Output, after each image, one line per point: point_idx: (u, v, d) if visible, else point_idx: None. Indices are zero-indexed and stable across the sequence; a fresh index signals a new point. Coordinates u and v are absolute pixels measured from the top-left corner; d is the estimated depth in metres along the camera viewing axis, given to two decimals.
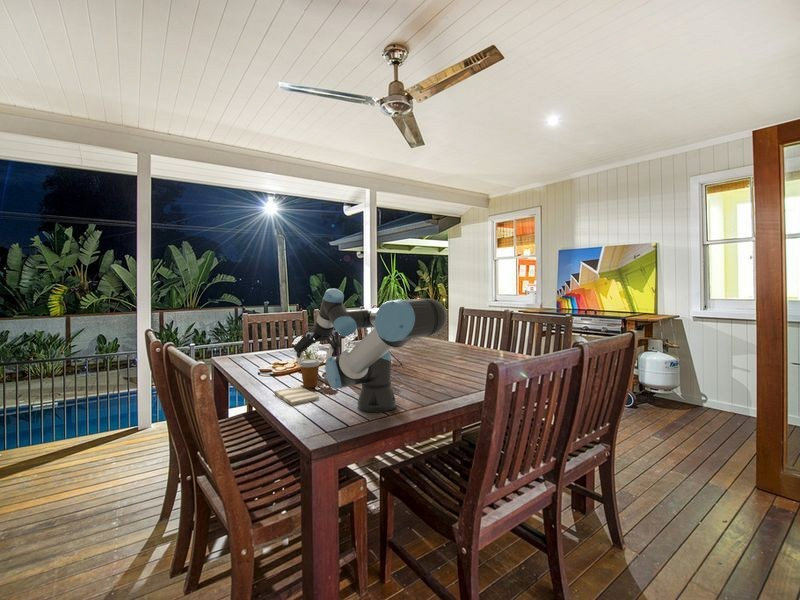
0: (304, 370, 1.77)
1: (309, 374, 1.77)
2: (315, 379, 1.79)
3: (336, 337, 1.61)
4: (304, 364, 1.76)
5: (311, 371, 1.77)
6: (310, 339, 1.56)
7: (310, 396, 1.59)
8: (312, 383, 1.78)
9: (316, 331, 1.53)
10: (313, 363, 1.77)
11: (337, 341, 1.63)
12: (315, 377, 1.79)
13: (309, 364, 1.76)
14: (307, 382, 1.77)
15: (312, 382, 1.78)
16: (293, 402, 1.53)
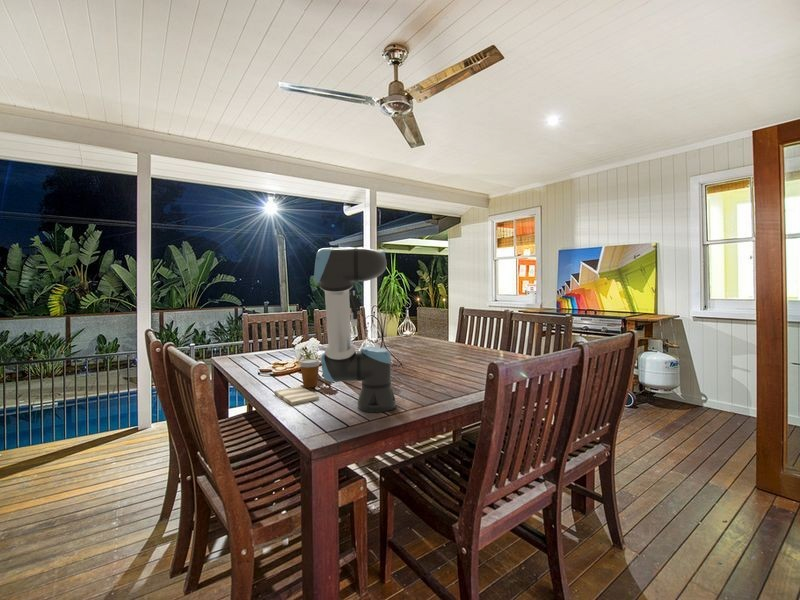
0: (304, 370, 1.77)
1: (309, 374, 1.77)
2: (315, 379, 1.79)
3: (351, 297, 1.74)
4: (304, 364, 1.76)
5: (311, 371, 1.77)
6: None
7: (310, 396, 1.59)
8: (312, 383, 1.78)
9: None
10: (313, 363, 1.77)
11: (353, 302, 1.74)
12: (315, 377, 1.79)
13: (309, 364, 1.76)
14: (307, 382, 1.77)
15: (312, 382, 1.78)
16: (293, 402, 1.53)
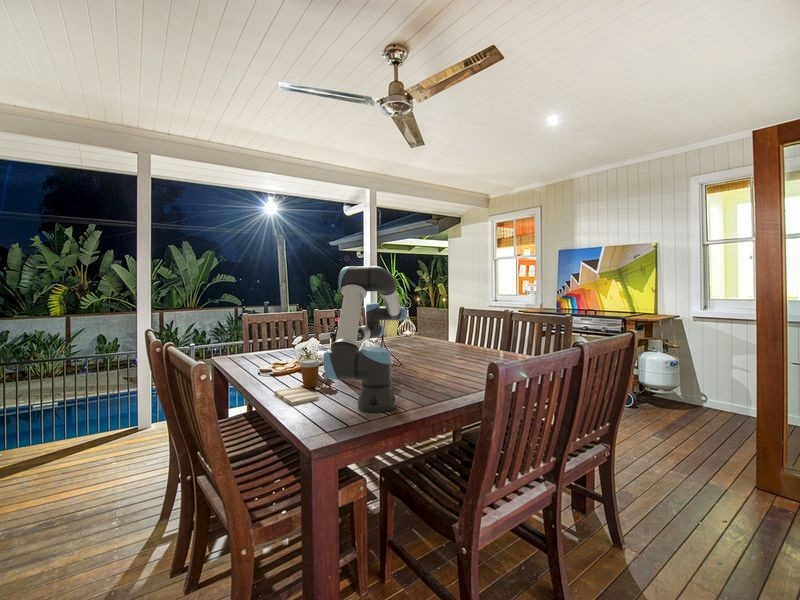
0: (304, 370, 1.77)
1: (309, 374, 1.77)
2: (315, 379, 1.79)
3: None
4: (304, 364, 1.76)
5: (311, 371, 1.77)
6: None
7: (310, 396, 1.59)
8: (312, 383, 1.78)
9: None
10: (313, 363, 1.77)
11: None
12: (315, 377, 1.79)
13: (309, 364, 1.76)
14: (307, 382, 1.77)
15: (312, 382, 1.78)
16: (293, 402, 1.53)
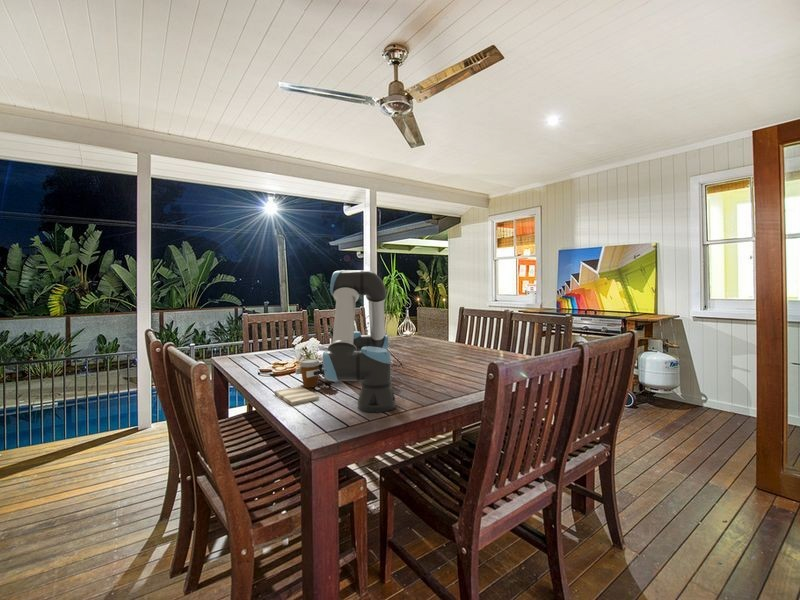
0: (304, 370, 1.77)
1: None
2: (315, 379, 1.79)
3: None
4: (304, 364, 1.76)
5: None
6: None
7: (310, 396, 1.59)
8: (312, 383, 1.78)
9: None
10: (313, 363, 1.77)
11: None
12: (315, 377, 1.79)
13: (309, 364, 1.76)
14: (307, 382, 1.77)
15: (312, 382, 1.78)
16: (293, 402, 1.53)
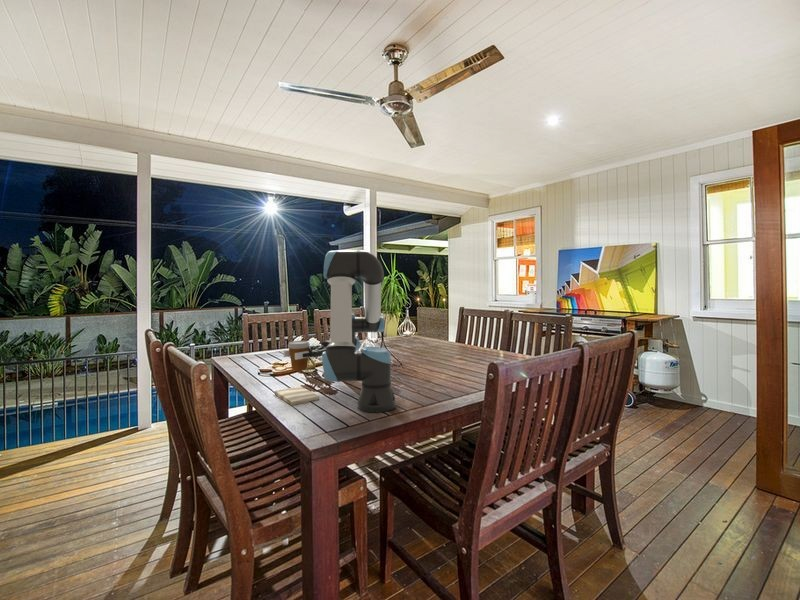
0: (292, 352, 1.64)
1: None
2: (304, 362, 1.66)
3: (324, 349, 1.71)
4: (292, 345, 1.64)
5: None
6: None
7: (310, 396, 1.59)
8: (301, 366, 1.65)
9: None
10: (302, 344, 1.64)
11: (320, 350, 1.68)
12: (304, 359, 1.66)
13: (298, 345, 1.63)
14: (296, 365, 1.65)
15: (302, 365, 1.65)
16: (293, 402, 1.53)
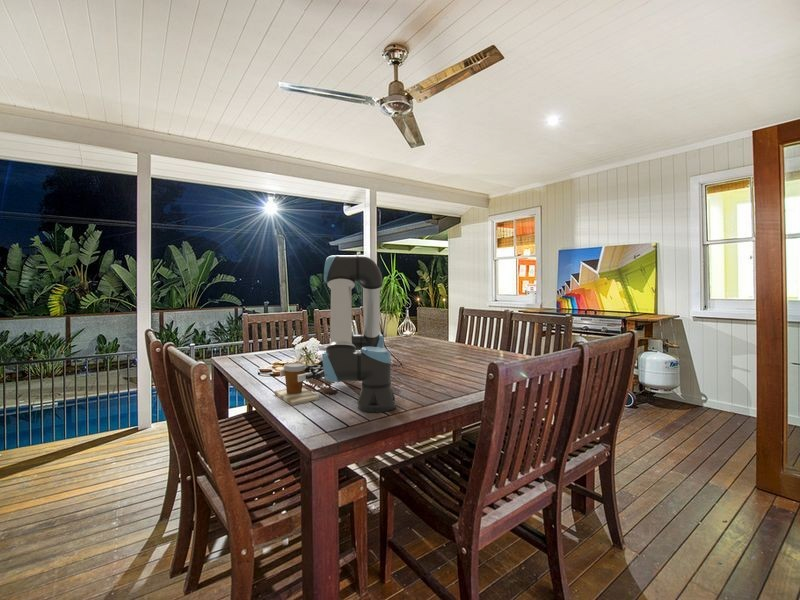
0: (287, 375, 1.62)
1: (293, 379, 1.62)
2: (299, 385, 1.64)
3: None
4: (288, 368, 1.61)
5: (295, 376, 1.62)
6: None
7: (310, 396, 1.59)
8: (295, 389, 1.63)
9: None
10: (298, 367, 1.62)
11: (321, 371, 1.64)
12: (299, 383, 1.64)
13: (293, 368, 1.61)
14: (290, 388, 1.62)
15: (296, 388, 1.63)
16: (293, 402, 1.53)
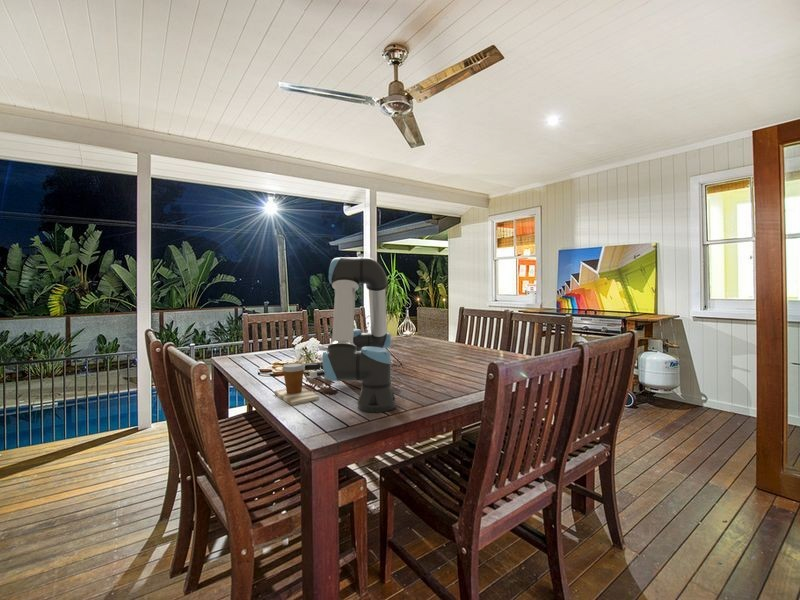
0: (286, 375, 1.63)
1: (291, 379, 1.62)
2: (298, 385, 1.64)
3: None
4: (285, 368, 1.62)
5: (293, 376, 1.62)
6: None
7: (310, 396, 1.59)
8: (294, 389, 1.63)
9: None
10: (295, 367, 1.62)
11: None
12: (298, 383, 1.64)
13: (290, 368, 1.61)
14: (289, 388, 1.63)
15: (295, 388, 1.63)
16: (293, 402, 1.53)
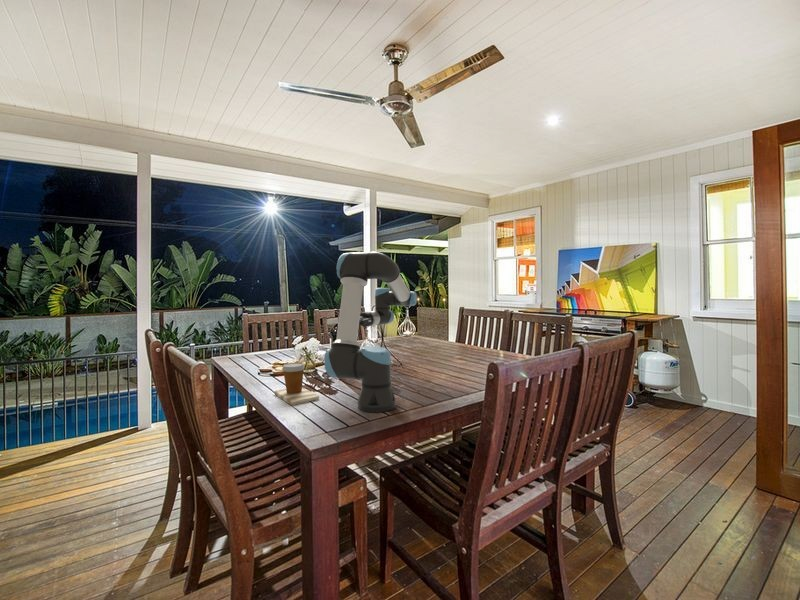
0: (286, 375, 1.63)
1: (291, 379, 1.62)
2: (298, 385, 1.64)
3: (366, 318, 1.84)
4: (286, 368, 1.62)
5: (293, 376, 1.62)
6: None
7: (310, 396, 1.59)
8: (294, 389, 1.63)
9: None
10: (295, 367, 1.62)
11: (364, 319, 1.81)
12: (298, 383, 1.64)
13: (291, 368, 1.61)
14: (289, 388, 1.63)
15: (295, 388, 1.63)
16: (293, 402, 1.53)
